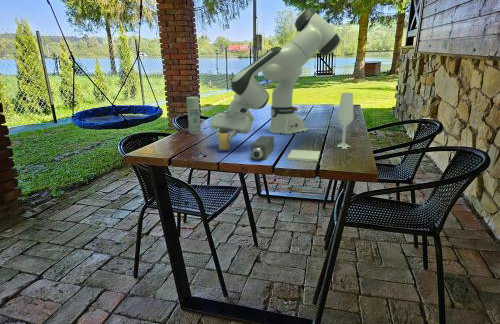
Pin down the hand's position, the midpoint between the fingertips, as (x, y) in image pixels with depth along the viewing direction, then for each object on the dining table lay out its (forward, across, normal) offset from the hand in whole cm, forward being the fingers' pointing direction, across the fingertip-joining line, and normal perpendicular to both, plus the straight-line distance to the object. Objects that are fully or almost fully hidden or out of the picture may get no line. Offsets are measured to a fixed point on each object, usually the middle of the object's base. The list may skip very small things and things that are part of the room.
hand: (223, 138), depth 134 cm
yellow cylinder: (+3, 0, +4) cm, 5 cm away
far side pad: (-4, +33, +12) cm, 36 cm away
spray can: (-11, -39, +20) cm, 45 cm away
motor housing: (0, +17, +8) cm, 19 cm away
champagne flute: (-21, +41, +30) cm, 55 cm away
